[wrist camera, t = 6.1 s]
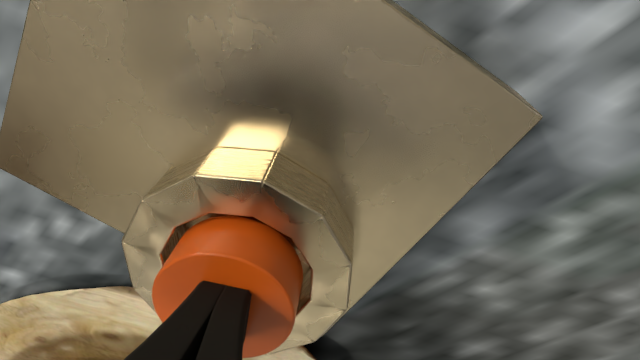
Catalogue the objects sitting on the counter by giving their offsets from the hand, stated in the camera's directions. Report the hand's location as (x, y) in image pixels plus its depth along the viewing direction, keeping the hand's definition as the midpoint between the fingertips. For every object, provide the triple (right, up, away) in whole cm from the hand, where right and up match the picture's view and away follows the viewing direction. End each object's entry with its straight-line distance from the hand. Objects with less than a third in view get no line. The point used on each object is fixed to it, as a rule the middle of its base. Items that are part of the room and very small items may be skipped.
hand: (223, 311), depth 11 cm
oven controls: (0, +6, +3) cm, 6 cm away
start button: (0, +1, +2) cm, 2 cm away
